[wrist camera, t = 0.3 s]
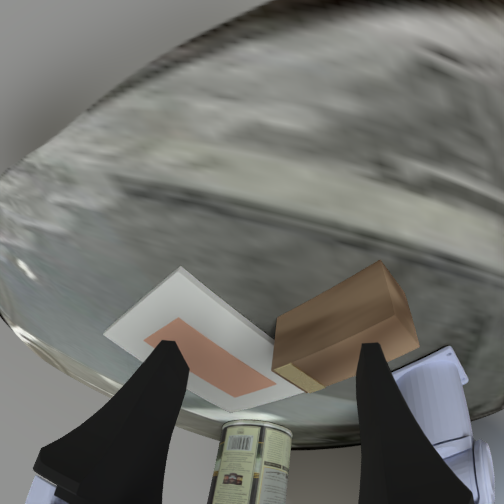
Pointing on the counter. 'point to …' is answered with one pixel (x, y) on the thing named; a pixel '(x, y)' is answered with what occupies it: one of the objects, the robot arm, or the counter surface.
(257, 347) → the mat
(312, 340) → the walnut block
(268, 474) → the coffee can
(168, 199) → the counter surface
